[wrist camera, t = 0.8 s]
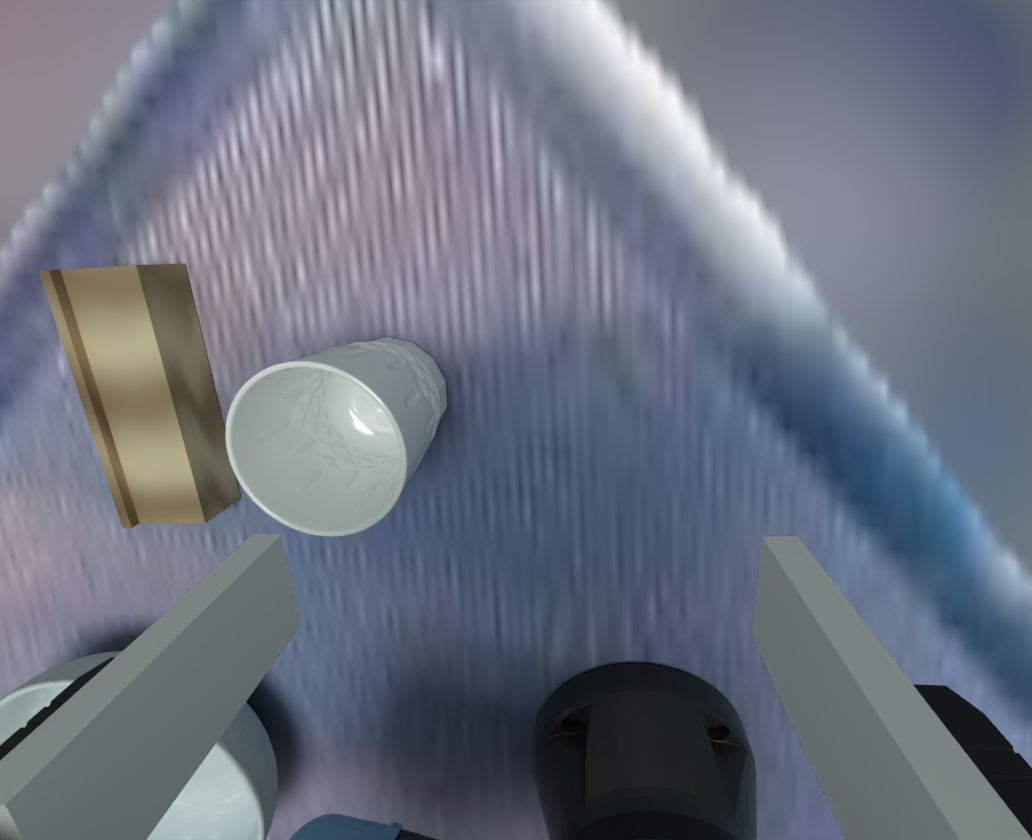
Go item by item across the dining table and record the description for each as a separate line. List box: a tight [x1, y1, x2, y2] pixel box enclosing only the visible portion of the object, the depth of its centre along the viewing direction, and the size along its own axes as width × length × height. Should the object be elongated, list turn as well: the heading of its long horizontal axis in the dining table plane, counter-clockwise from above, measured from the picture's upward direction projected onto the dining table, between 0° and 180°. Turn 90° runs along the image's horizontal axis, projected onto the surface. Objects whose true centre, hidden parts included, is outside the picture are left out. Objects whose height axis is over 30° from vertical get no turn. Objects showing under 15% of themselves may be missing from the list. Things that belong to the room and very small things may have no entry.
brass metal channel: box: [39, 264, 241, 528], centre depth 30 cm, size 15×5×4 cm, turn 3°
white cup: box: [225, 337, 447, 536], centre depth 26 cm, size 8×8×10 cm
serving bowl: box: [0, 651, 278, 840], centre depth 38 cm, size 21×21×7 cm
